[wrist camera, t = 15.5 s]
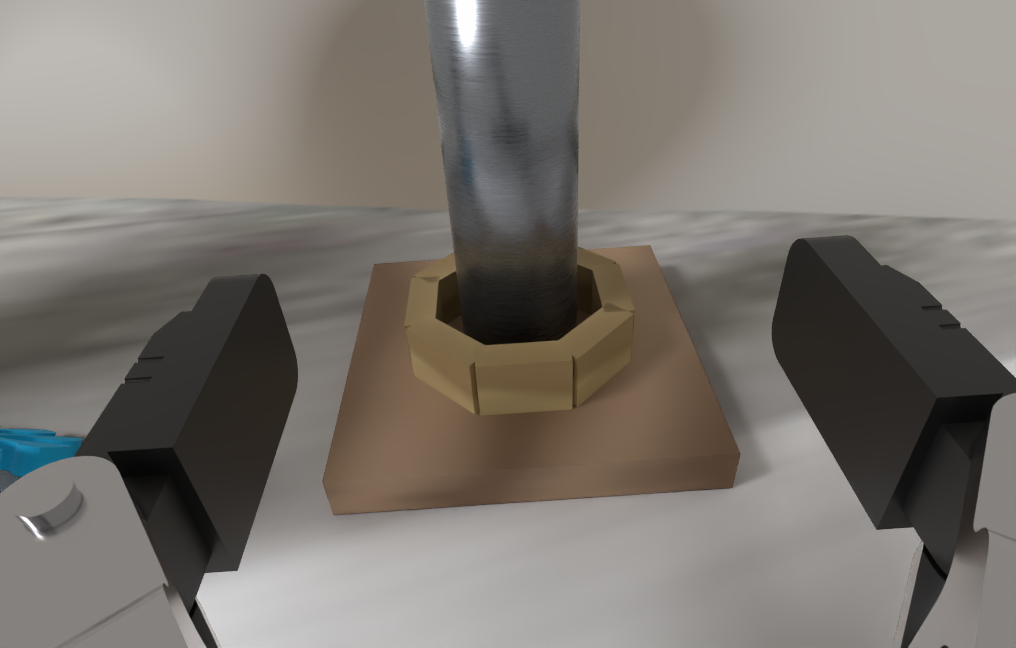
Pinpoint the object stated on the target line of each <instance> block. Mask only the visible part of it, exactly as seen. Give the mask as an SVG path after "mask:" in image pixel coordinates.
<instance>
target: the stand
mask: <svg viewBox="0 0 1016 648" xmlns="http://www.w3.org/2000/svg"><path fill="white" fill-rule="evenodd" d="M739 457H740V452H739V449H738V447H737V445H736V443H735V440H734V438H733V436H732V433H731V431H730V429H729V426H728V424H727V422H726V419H725V417H724V415H723V413H722V410H721V408H720V406H719V403H718V401H717V399H716V396H715V394H714V392H713V389H712V387H711V385H710V383H709V380H708V378H707V376H706V373H705V371H704V369H703V366H702V364H701V362H700V359H699V357H698V355H697V353H696V350H695V348H694V346H693V343H692V341H691V339H690V336H689V334H688V332H687V329H686V327H685V325H684V322H683V320H682V318H681V316H680V313H679V311H678V309H677V306H676V304H675V302H674V299H673V297H672V295H671V292H670V290H669V288H668V286H667V283H666V281H665V279H664V276H663V274H662V272H661V269H660V267H659V265H658V262H657V260H656V258H655V256H654V253H653V251H652V249H651V246H650V245H647V246H633V247H618V248H603V249H589V250H585V249H582V248H580V247H578V249H577V327H576V328H574V329H573V330H572V331H570V332H569V333H568V334H566V335H565V336H564V337H562V338H561V339H560V340H557V341H543V342H528V343H513V344H498V345H483V344H481V343H480V342H478V341H476V340H474V339H472V338H471V337H469V336H467V335H465V334H464V332H463V324H462V315H461V307H460V299H459V290H458V282H457V273H456V265H455V257H454V253H452V254H451V255H449V256H447V257H445V258H444V259H442V260H427V261H412V262H398V263H383V264H374V268H373V272H372V277H371V281H370V285H369V289H368V293H367V297H366V302H365V306H364V310H363V314H362V318H361V323H360V327H359V331H358V335H357V339H356V343H355V348H354V352H353V356H352V360H351V364H350V368H349V373H348V377H347V381H346V385H345V389H344V394H343V398H342V402H341V406H340V410H339V414H338V419H337V423H336V427H335V431H334V435H333V439H332V444H331V448H330V452H329V456H328V460H327V464H326V469H325V473H324V477H323V481H322V482H323V485H324V488H325V491H326V494H327V497H328V500H329V503H330V506H331V509H332V512H333V515H337V514H352V513H366V512H381V511H396V510H410V509H425V508H440V507H455V506H469V505H484V504H499V503H514V502H528V501H543V500H558V499H572V498H587V497H602V496H617V495H631V494H646V493H661V492H676V491H690V490H705V489H720V488H732V487H733V483H734V478H735V474H736V470H737V465H738V461H739Z"/></svg>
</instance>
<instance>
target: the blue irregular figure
mask: <svg viewBox="0 0 1016 648" xmlns="http://www.w3.org/2000/svg"><path fill="white" fill-rule="evenodd" d="M55 435H56V433H55V432H52V431H48V430H38V429H0V470H6V471H10V472H11V474H12V475H15V476H20V477H23V476H25V475H26V474H28V473H30V472H32V471H34V470H36V469H38V468H40V467H43V466H45V465H47V464H50V463H53V462H56V461H59V460H62V459H67V458H71V457H74V455H75V454H76V452H77V451H78V449H79V448H80V446H81V444H82V439H83V438H74V437H57V436H55Z"/></svg>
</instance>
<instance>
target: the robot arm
mask: <svg viewBox="0 0 1016 648" xmlns="http://www.w3.org/2000/svg"><path fill="white" fill-rule="evenodd" d="M960 324H961V323H960V322H959V321H958V320H957V319H956V318H955V317H954V316H953V315H952V314H950V313H949V312H948V311H947V310H942V305H941V304H940V303H939V302H938V301H937V300H936V299H935V298H934V297H933V296H932V295H931V294H930V293H929V292H928V291H927V290H926V289H925V288H924V287H923V286H922V285H921V284H920V283H919V282H917V281H915V280H913V279H911V278H910V277H908V276H906V275H904V274H902V273H900V272H898V271H897V270H895V269H893V268H891V267H889V266H887V265H883V266H881V265H880V264H879V263H878V262H877V261H876V260H875V259H874V258H873V257H872V256H871V254H870V253H869V252H868V251H867V250H866V249H865V248H864V247H863V246H862V245H861V244H860V243H859V242H858V241H857V240H856V239H855V238H854V237H852V236H848V235H846V236H832V237H817V238H802V239H797V240H796V241H795V242H794V243H793V244H792V246H791V248H790V250H789V253H788V257H787V262H786V266H785V270H784V274H783V279H782V283H781V287H780V292H779V296H778V300H777V305H776V309H775V313H774V317H773V323H772V342H773V348H774V352H775V355H776V358H777V360H778V362H779V364H780V365H781V367H782V369H783V370H784V372H785V374H786V376H787V377H788V379H789V381H790V382H791V384H792V386H793V387H794V389H795V391H796V393H797V394H798V396H799V398H800V399H801V401H802V403H803V405H804V406H805V408H806V410H807V411H808V413H809V415H810V417H811V418H812V420H813V422H814V423H815V425H816V427H817V429H818V430H819V432H820V434H821V435H822V437H823V439H824V441H825V442H826V444H827V446H828V447H829V449H830V451H831V453H832V454H833V456H834V458H835V459H836V461H837V463H838V465H839V466H840V468H841V470H842V471H843V473H844V475H845V476H846V478H847V480H848V482H849V483H850V485H851V487H852V488H853V490H854V492H855V494H856V495H857V497H858V499H859V500H860V502H861V504H862V506H863V507H864V509H865V511H866V512H867V514H868V516H869V518H870V519H871V521H872V523H873V524H874V526H875V528H876V530H880V529H894V528H909V527H914V529H915V530H916V532H917V533H918V535H919V537H920V538H921V540H922V541H921V542H920V544H919V546H918V548H917V550H916V552H915V555H914V557H913V562H912V566H911V570H910V574H909V579H908V583H907V587H906V592H905V596H904V600H903V604H902V609H901V613H900V617H899V622H898V626H897V630H896V634H895V639H894V643H893V647H892V648H1016V378H1015V377H1014V376H1013V375H1012V374H1011V373H1010V372H1009V371H1008V370H1007V369H1006V368H1005V367H1004V366H1003V365H1002V364H1001V363H1000V362H999V361H998V360H997V359H996V358H995V357H994V356H993V355H992V354H991V353H990V352H989V351H988V350H987V349H986V348H985V347H984V346H983V345H982V344H981V343H980V342H979V341H978V340H977V339H976V338H975V337H974V336H973V335H972V334H971V333H970V332H969V331H968V330H967V329H966V328H961V327H960ZM297 382H298V367H297V359H296V354H295V350H294V347H293V344H292V341H291V338H290V335H289V332H288V329H287V326H286V322H285V319H284V316H283V313H282V310H281V307H280V304H279V301H278V297H277V294H276V291H275V288H274V286H273V283H272V281H271V280H270V278H269V277H268V276H267V275H265V274H256V275H241V276H226V277H215V278H213V279H212V280H211V281H210V282H209V284H208V285H207V287H206V289H205V290H204V292H203V293H202V295H201V297H200V298H199V300H198V302H197V303H196V305H195V307H194V308H193V310H192V311H188V312H181V313H179V314H178V315H177V316H176V317H174V318H173V319H172V320H171V321H169V322H168V323H167V324H166V325H164V326H163V327H162V328H161V329H159V330H158V331H157V332H156V333H154V334H153V336H152V337H151V339H150V341H149V342H148V344H147V345H146V347H145V348H144V350H143V351H142V353H141V354H140V356H139V357H138V363H134V365H133V367H132V368H131V370H130V371H129V373H128V374H127V376H126V377H125V384H121V385H120V386H119V388H118V389H117V391H116V392H115V394H114V396H113V397H112V399H111V400H110V402H109V403H108V405H107V406H106V408H105V409H104V411H103V412H102V414H101V415H100V417H99V418H98V420H97V422H96V423H95V425H94V426H93V428H92V429H91V431H90V432H89V434H88V435H87V437H86V438H85V440H84V441H83V443H82V444H81V446H80V448H79V449H78V451H77V452H76V454H75V455H74V457H71V458H67V459H62V460H59V461H56V462H53V463H50V464H47V465H45V466H43V467H40V468H38V469H36V470H34V471H32V472H30V473H28V474H26V475H25V476H23V477H22V478H20V479H19V480H17V481H15V482H14V483H13V484H11V485H10V486H9V487H7V488H6V489H5V490H4V491H3V492H2V493H0V648H221V646H220V644H219V642H218V639H217V637H216V635H215V633H214V631H213V629H212V627H211V625H210V623H209V620H208V618H207V616H206V614H205V612H204V610H203V608H202V606H201V604H200V602H199V601H198V599H197V598H196V595H197V592H198V590H199V587H200V584H201V581H202V579H203V576H204V573H211V572H226V571H238V568H239V564H240V561H241V558H242V555H243V552H244V549H245V546H246V543H247V540H248V537H249V534H250V531H251V528H252V525H253V522H254V519H255V515H256V512H257V509H258V506H259V503H260V500H261V497H262V494H263V491H264V488H265V485H266V482H267V479H268V476H269V473H270V470H271V466H272V463H273V460H274V457H275V454H276V451H277V448H278V445H279V442H280V439H281V436H282V433H283V430H284V427H285V424H286V421H287V417H288V414H289V411H290V408H291V405H292V402H293V399H294V396H295V393H296V389H297Z"/></svg>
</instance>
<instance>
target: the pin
mask: <svg viewBox="0 0 1016 648" xmlns="http://www.w3.org/2000/svg"><path fill="white" fill-rule="evenodd" d="M424 5H425V13H426V22H427V30H428V39H429V47H430V55H431V64H432V72H433V81H434V88H435V97H436V106H437V114H438V122H439V131H440V139H441V148H442V156H443V164H444V172H445V181H446V190H447V198H448V206H449V215H450V223H451V232H452V240H453V248H454V257H455V265H456V273H457V282H458V290H459V299H460V307H461V315H462V324H463V332H464V334H465V335H467V336H469V337H471V338H472V339H474V340H476V341H478V342H480V343H481V344H483V345H498V344H513V343H528V342H543V341H557V340H560V339H561V338H562V337H564V336H565V335H566V334H568V333H569V332H570V331H572V330H573V329H574V328H576V327H577V249H578V149H579V146H578V145H579V50H580V49H579V48H580V43H579V42H580V0H424Z"/></svg>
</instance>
